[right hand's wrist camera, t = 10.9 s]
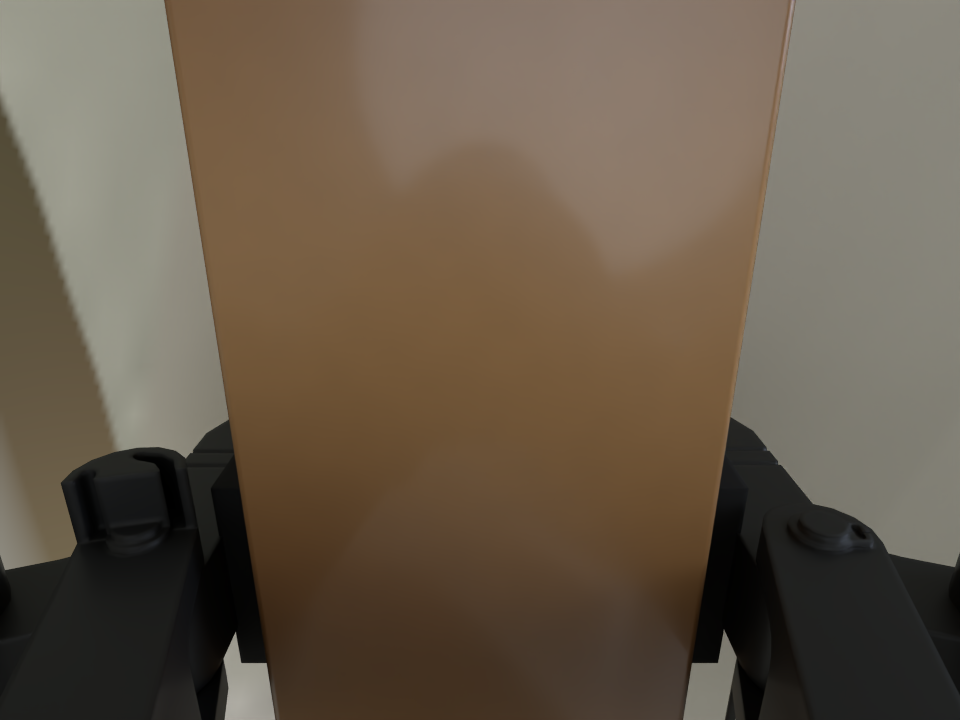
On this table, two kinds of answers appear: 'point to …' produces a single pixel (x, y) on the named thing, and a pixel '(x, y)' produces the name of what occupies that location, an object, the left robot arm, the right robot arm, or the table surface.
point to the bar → (479, 334)
